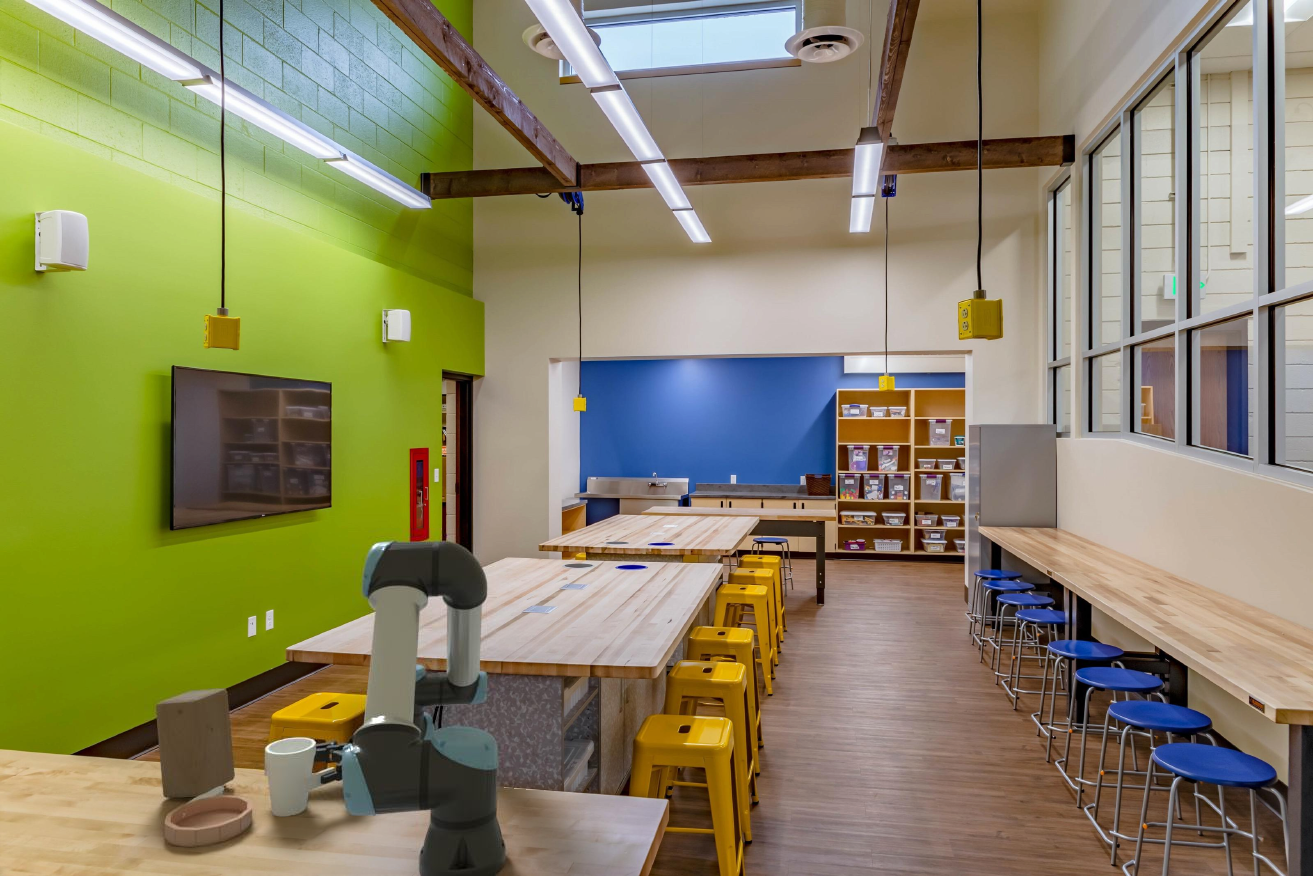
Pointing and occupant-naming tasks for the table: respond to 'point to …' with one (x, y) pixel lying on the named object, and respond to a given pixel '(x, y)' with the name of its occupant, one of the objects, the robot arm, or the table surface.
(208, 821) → the bowl
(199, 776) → the wooden block
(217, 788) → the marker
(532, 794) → the table surface
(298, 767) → the foam cup
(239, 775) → the table surface
